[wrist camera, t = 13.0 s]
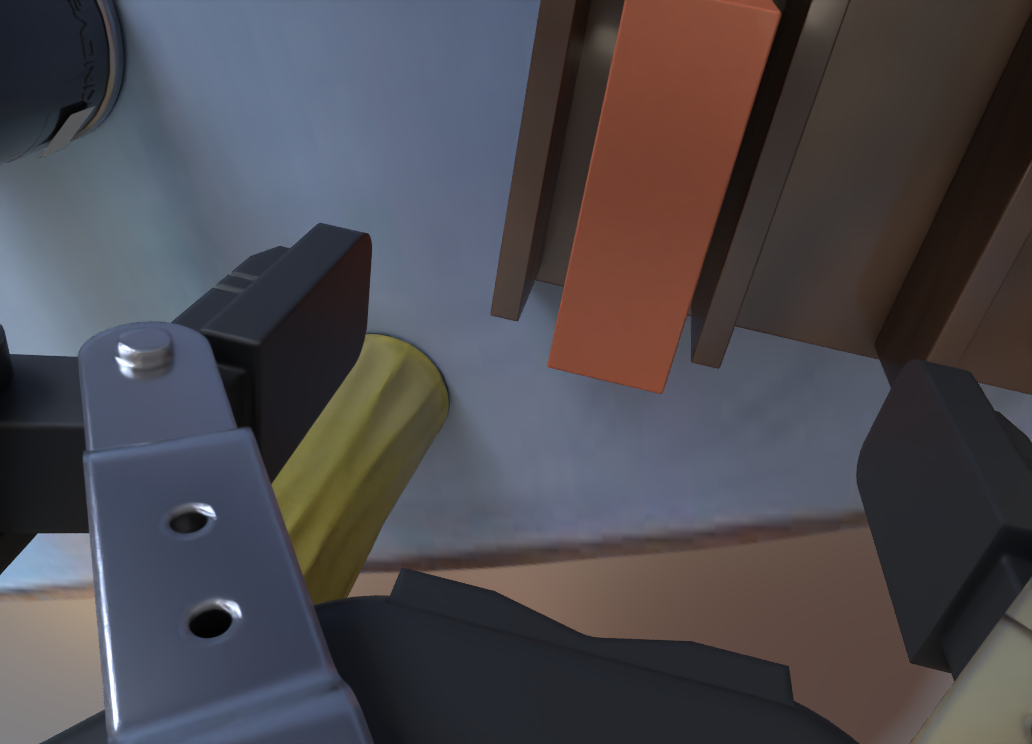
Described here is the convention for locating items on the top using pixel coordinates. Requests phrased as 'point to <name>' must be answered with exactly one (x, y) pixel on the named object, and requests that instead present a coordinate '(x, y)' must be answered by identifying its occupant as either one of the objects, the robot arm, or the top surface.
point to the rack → (826, 182)
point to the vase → (359, 462)
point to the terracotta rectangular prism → (658, 182)
